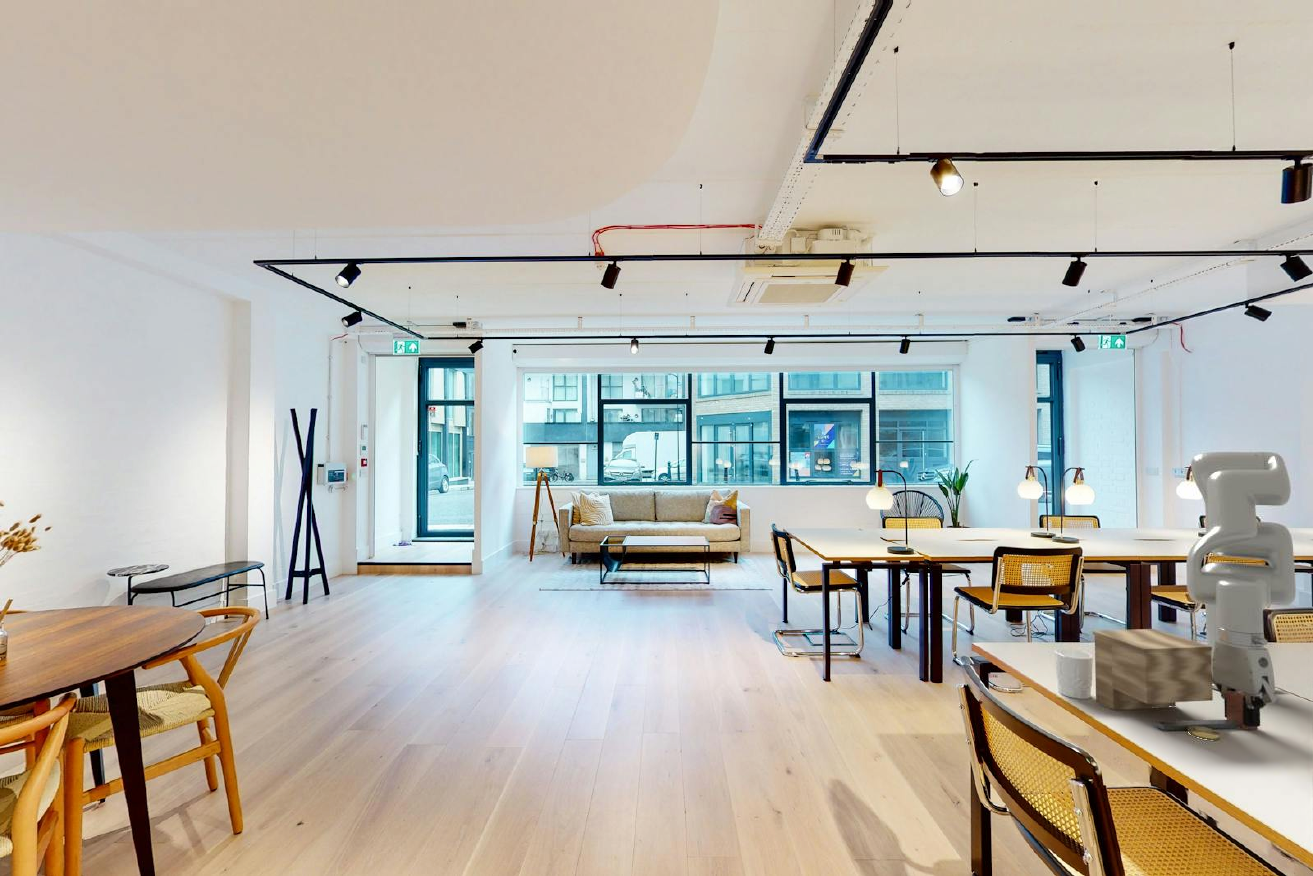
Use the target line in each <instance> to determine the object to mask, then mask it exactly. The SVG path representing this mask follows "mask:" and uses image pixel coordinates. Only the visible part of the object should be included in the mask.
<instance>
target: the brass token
mask: <svg viewBox="0 0 1313 876" xmlns="http://www.w3.org/2000/svg"><path fill="white" fill-rule="evenodd" d="M1188 732H1189V733H1190V734H1191V735H1193V736H1195V737H1199V738H1202V739H1207V740H1213V741H1212V742H1218V741H1220V733H1219V732H1218V731H1216V729H1209V728H1206V727H1201V726H1189V727H1188V730H1187V733H1188ZM1191 735H1190V736H1191ZM1193 736H1192V737H1193ZM1195 737H1194V738H1195ZM1202 739H1201V740H1202ZM1207 740H1206V741H1207Z"/></svg>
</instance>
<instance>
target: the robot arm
mask: <svg viewBox="0 0 1313 876" xmlns="http://www.w3.org/2000/svg"><path fill="white" fill-rule="evenodd" d="M1190 466H1191V467H1190V468H1191V474H1192V477H1193V480H1194V483H1195V485H1196V486H1197V488H1198V490H1199V493H1200V494H1201V497H1202V498H1203V501H1204V508H1205V534H1204V535H1203V536H1202V537H1200V538H1199V539H1198V540H1196V542H1195V543H1194V544H1193V545H1192V547H1191V548H1190V549H1189V552H1188V555H1187V558H1186V566H1185V567H1186V589H1187V590H1186V591H1187V594H1188V596H1189V598H1190V599H1191V601H1193V602H1195V603H1197V604H1200V605H1201V604H1202V605H1205V607H1204V608H1205V623H1206V624H1205V626H1206V630H1205V632H1206V645H1208V646H1211V647H1212V650H1211V656H1212V689H1214V690H1218V691H1219V693H1220V697H1221V699H1223V700H1224V702H1223V704H1224V705H1223V706H1224V717H1225V719H1227V700H1226V691H1233V690H1238V691H1241V692H1244V694H1245V700H1246V706H1247V707H1244V724H1245V726H1247V727H1258V728H1259V727H1260V726H1261V710H1262V709H1263V708H1264V707H1265V706H1267V705H1270V704H1275V703H1277V698H1276V696H1275V695H1274V694H1275V693H1276V683H1275V673H1274V667H1273V662H1272V657H1271V654H1270V651H1269V649H1268V648H1266V647H1265V646H1267V645H1268V640H1267V639H1266V638H1264V609H1265V608H1266V607H1267V605H1273V606H1288V605H1291V604H1293V603H1294V601H1295V598H1296V590H1297V588H1296V572H1295V557H1294V544H1293V538H1292V535H1291V532H1290V530H1289V529H1288V527H1286V526H1285V525H1283V524H1280V523H1277V522H1272V521H1271V522H1270V521H1257V511H1256V510H1257V509H1256V506H1277V507H1280V506H1284V505H1286V504H1287V503H1288V501H1289V500H1290V497H1291V491H1292V490H1291V482H1290V476H1289V473H1288V470H1287V467H1286V463H1285V460H1284V459H1283V457H1282V456H1281V455H1280V454H1278V453H1276V452H1271V451H1270V452H1269V451H1216V452H1215V451H1213V452H1205V453H1204V452H1203V453H1200V454H1197V455H1195V456H1194V457H1193V458H1192V459H1191V464H1190ZM1209 553H1212V554H1213V555H1216V556H1219V557H1227V558H1235V559H1249V560H1263V561H1265V562H1266V563H1267V564H1268V565H1264V564H1250V563H1243V562H1241V563H1240V562H1228V561H1227V562H1226V561H1217V562H1216V561H1215V562H1209V563H1206V564H1205V565H1203V566H1202V562H1203V560H1204V557H1205V556H1206V555H1207V554H1209ZM1253 697H1254V698H1255V700H1254V701H1253Z"/></svg>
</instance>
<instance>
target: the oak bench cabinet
mask: <svg viewBox="0 0 1313 876" xmlns="http://www.w3.org/2000/svg"><path fill="white" fill-rule="evenodd" d="M1093 635H1094V668H1095V669H1094V670H1095V676H1094V677H1095V702H1096V703H1098V704H1100V705H1103V706H1104V705H1105V706H1104V707H1106V706H1107V707H1106V708H1108V707H1109V708H1108V709H1110V708H1111V709H1110V710H1112V711H1116V710H1117V711H1118V710H1119V711H1120V709H1123V710H1138V708H1145V709H1160V708H1159V707H1167V708H1170V707H1169V706H1176V705H1177V704H1176V703H1185V702H1186V703H1187V702H1207V701H1213V699H1214V698H1213V697H1214V695H1213V693H1214V692H1213V688H1212V656H1211V650H1212V647H1211V646H1208V645H1207V644H1204V643H1201V642H1198V641H1195V640H1192V639H1188V638H1185V637H1183V636H1182V637H1181V636H1178V635H1176V634H1173V633H1168V632H1165V631H1163V630H1159V629H1157V628H1144V629H1139V628H1137V629H1113V630H1112V629H1110V630H1109V629H1108V630H1104V629H1103V630H1092V636H1093ZM1152 707H1153V708H1152ZM1155 707H1157V708H1155ZM1176 707H1177V706H1176Z"/></svg>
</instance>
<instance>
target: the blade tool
mask: <svg viewBox="0 0 1313 876" xmlns="http://www.w3.org/2000/svg"><path fill="white" fill-rule="evenodd" d="M1226 700H1227V718H1226V719H1205V720H1203V719H1202V720H1201V719H1200V720H1195V719H1194V720H1165V721H1164V720H1163V721H1160V720H1159V721H1155V727H1157V728H1159V729H1161V730H1163V731H1181V730H1184V731H1185V730H1186V731H1188V727H1189V726H1201V727H1206V728H1209V729H1212V730H1217V729H1221V730H1222V729H1240V730H1258V728H1259V726H1258V727H1247V726H1245V724H1244V707H1247V706H1246V700H1245V694H1244V692H1241V691H1238V690H1233V691H1226ZM1254 700H1255V698H1254V697H1253V701H1254ZM1216 728H1217V729H1216Z"/></svg>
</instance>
